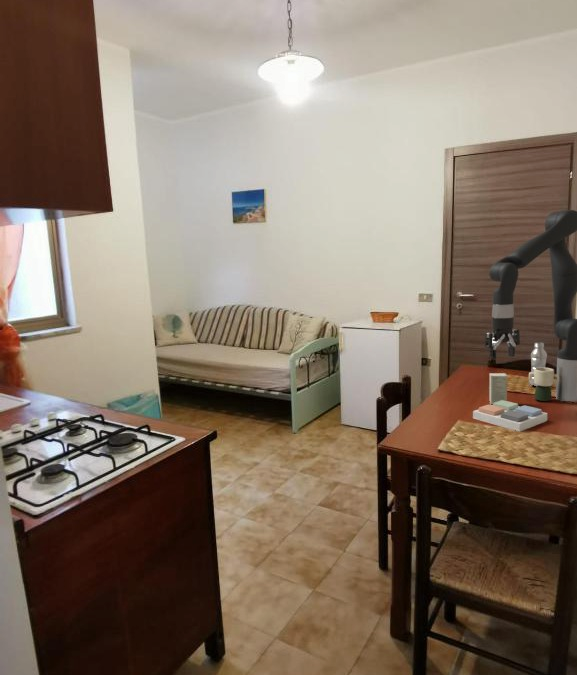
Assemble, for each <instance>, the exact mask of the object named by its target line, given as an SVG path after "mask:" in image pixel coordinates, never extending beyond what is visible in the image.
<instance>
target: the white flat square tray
mask: <svg viewBox="0 0 577 675" xmlns="http://www.w3.org/2000/svg"><path fill="white" fill-rule="evenodd" d="M518 407H520V406H519V405H518ZM513 411H515V409H514V410H513ZM504 412H507V411H505V410H504ZM472 419H474V420H477V421H481V422H484V423H488V424H491V425H495V426H498V427H502V428H505V429H508V430H511V431H515V430H516V431H515V432H518V431H519V432H523V431H526V430H528V429H530V428H532V427H536V426H537V425H540V424H543V423H545V422H547V421H548V412H543V411H542V414H540V415H537V416H534V417H529V416H528V419H526V420H524V421H521V422H515V421H511V420H508V419H504V418H501V414H499V415H496V416H493V415H489V414H485V413H482V412H479V408H478V409H475V410H473V411H472ZM519 432H518V433H519Z"/></svg>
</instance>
